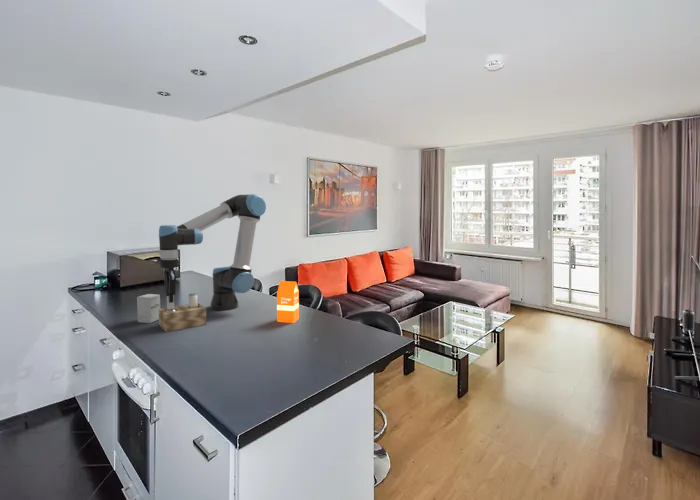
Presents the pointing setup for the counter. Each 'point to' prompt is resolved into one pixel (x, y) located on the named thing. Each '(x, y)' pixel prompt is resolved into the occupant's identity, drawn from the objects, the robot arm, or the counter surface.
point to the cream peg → (193, 300)
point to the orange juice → (287, 302)
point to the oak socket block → (182, 317)
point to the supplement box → (148, 308)
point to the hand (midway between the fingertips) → (170, 308)
